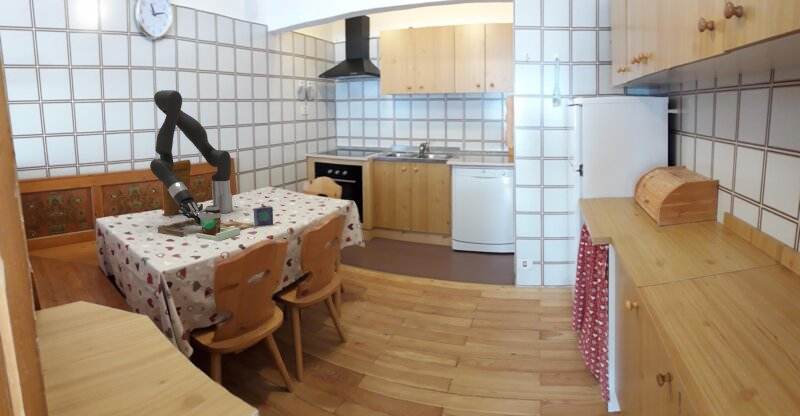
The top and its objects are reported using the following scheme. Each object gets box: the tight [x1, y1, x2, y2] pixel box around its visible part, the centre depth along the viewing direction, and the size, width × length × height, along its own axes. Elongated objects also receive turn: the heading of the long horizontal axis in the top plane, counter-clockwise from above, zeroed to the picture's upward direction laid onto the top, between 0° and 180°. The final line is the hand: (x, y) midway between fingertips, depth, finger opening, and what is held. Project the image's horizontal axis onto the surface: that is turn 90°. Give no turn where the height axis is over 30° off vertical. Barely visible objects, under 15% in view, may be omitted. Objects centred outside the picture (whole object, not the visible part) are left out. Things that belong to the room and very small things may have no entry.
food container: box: [198, 209, 222, 236], centre depth 232 cm, size 12×6×10 cm, turn 56°
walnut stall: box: [157, 218, 201, 238], centre depth 239 cm, size 19×15×2 cm
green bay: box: [195, 228, 241, 242], centre depth 230 cm, size 13×13×3 cm
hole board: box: [220, 220, 255, 231], centre depth 245 cm, size 14×14×1 cm
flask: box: [253, 202, 274, 227], centre depth 250 cm, size 9×3×11 cm, turn 120°
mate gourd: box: [204, 192, 223, 214], centre depth 254 cm, size 8×8×15 cm
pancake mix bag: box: [161, 159, 192, 217], centre depth 270 cm, size 7×19×28 cm, turn 151°
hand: (201, 223), depth 234 cm, fingers closed
